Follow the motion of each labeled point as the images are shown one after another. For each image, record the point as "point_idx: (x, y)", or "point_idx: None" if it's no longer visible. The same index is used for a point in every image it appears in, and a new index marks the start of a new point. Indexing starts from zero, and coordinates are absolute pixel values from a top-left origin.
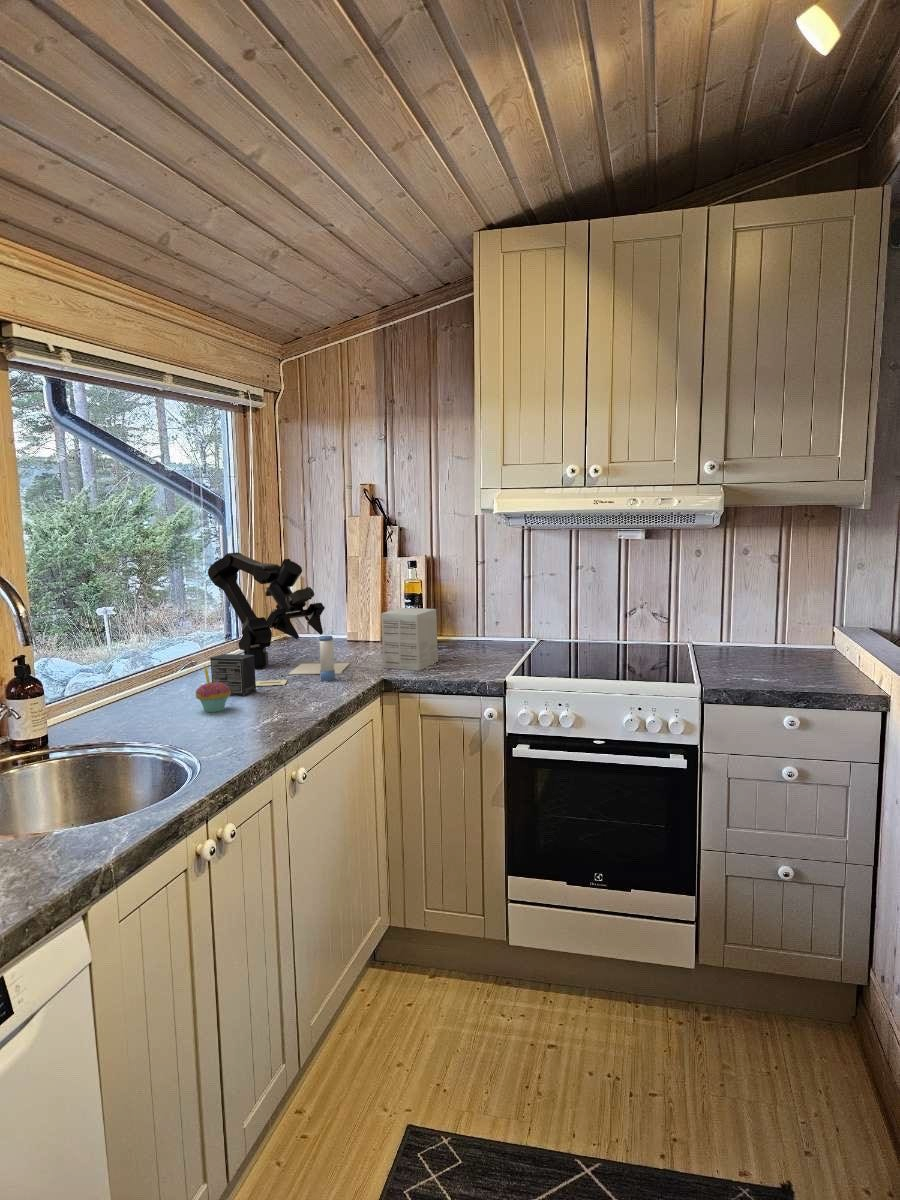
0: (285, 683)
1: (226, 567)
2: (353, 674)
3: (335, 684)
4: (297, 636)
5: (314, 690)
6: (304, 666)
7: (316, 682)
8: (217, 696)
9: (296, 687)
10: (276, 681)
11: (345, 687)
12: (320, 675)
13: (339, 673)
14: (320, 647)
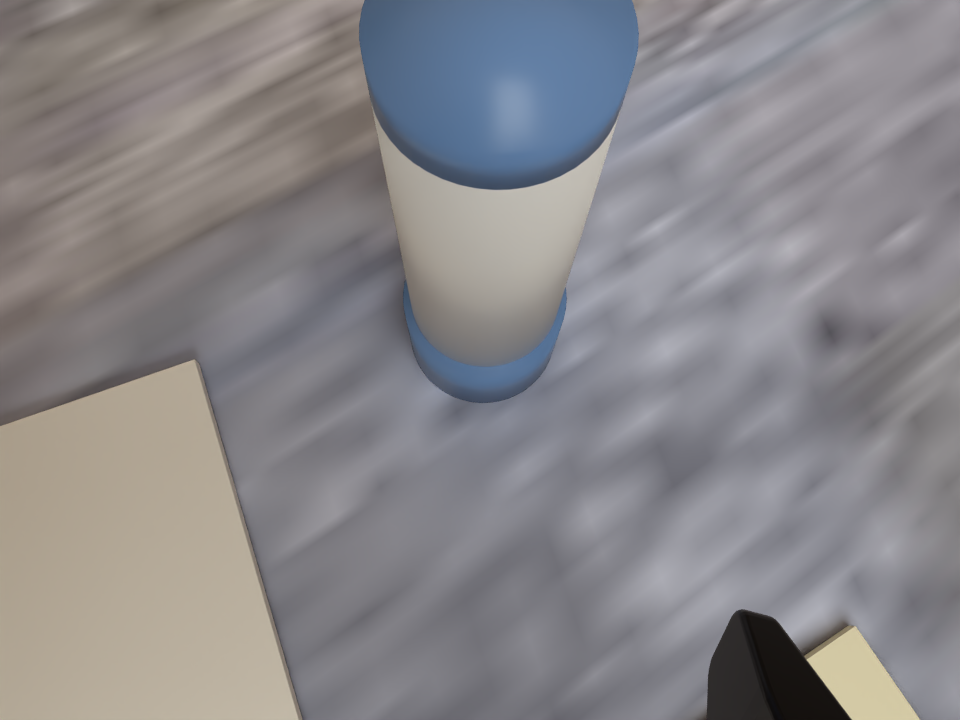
0: (807, 657)
1: None
2: (171, 241)
3: (599, 182)
4: (787, 637)
5: (863, 230)
6: None
7: (594, 393)
8: None
9: (849, 458)
10: None
11: (661, 52)
12: (539, 366)
13: (197, 370)
14: (590, 195)
